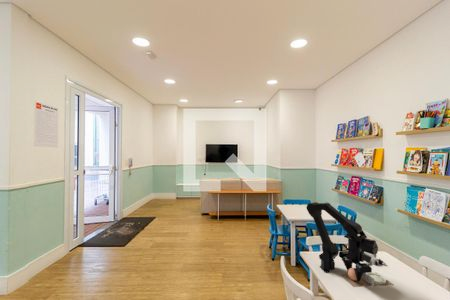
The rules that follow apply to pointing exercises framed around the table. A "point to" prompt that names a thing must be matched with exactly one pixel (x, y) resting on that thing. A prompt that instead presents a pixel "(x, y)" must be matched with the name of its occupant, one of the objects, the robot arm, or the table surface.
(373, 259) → the robot toy
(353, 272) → the rubber ball
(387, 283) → the fence board
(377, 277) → the ring
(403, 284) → the table surface
